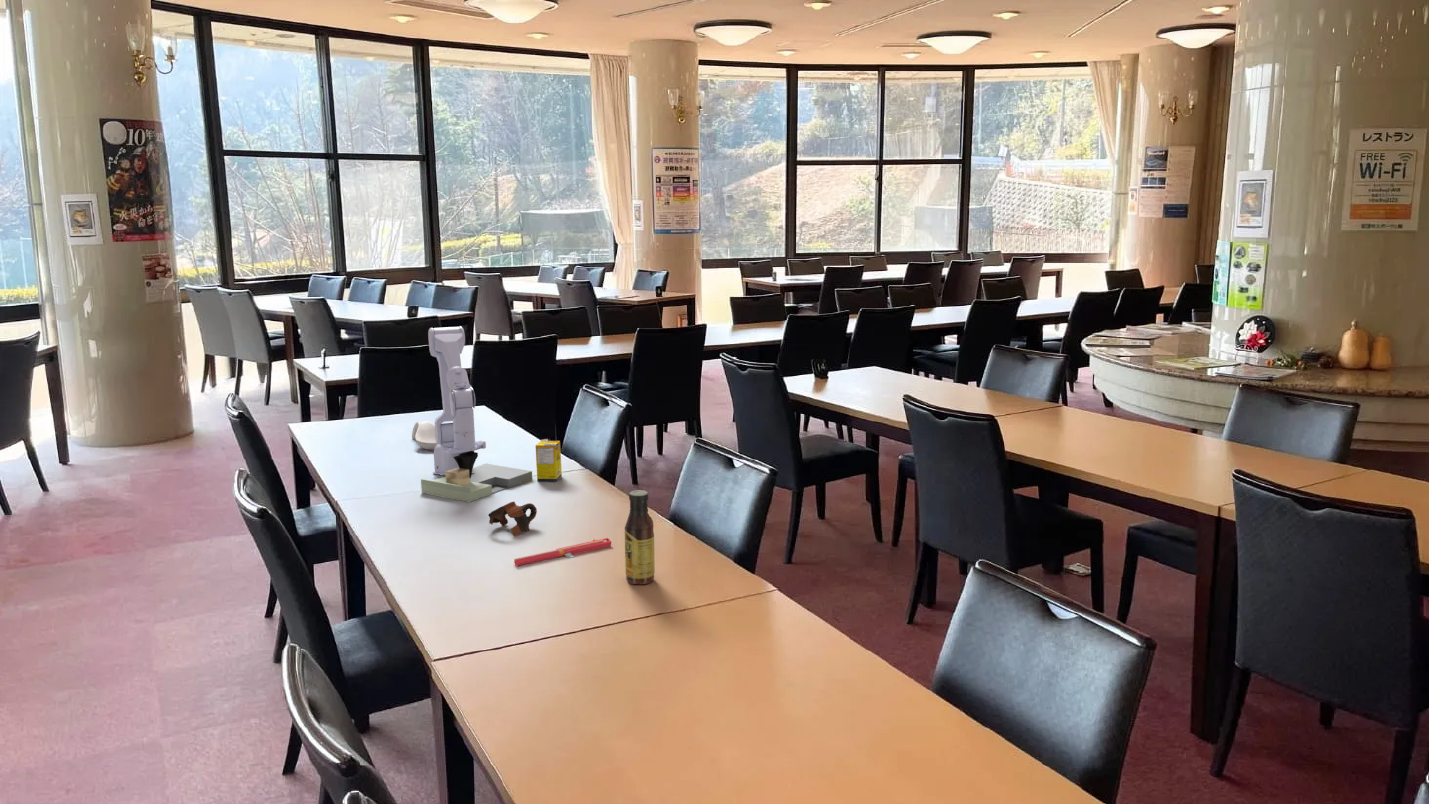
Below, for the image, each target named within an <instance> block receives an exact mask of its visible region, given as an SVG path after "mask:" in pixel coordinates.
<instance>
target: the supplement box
mask: <svg viewBox="0 0 1429 804" xmlns="http://www.w3.org/2000/svg"><path fill="white" fill-rule="evenodd" d="M561 454H562V453H561V441H560V440H541V441H539V442H537V444H536V445H535V460H536V461H535V462H536V477H537V478H536V480H537V482H558V481H559V480H560V478H562V475H563V474H562V455H561Z"/></svg>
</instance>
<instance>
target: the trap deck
mask: <svg viewBox="0 0 1429 804" xmlns="http://www.w3.org/2000/svg"><path fill="white" fill-rule="evenodd" d="M532 480H533V471H532V470H527V469H523V468H522V469H520V468H515V467H510V466H509V467H508V466H503V465H498V464H497V465H496V464H491V463H484V464H481V465H478V466H473V470H472V475H471V478H470V484H467V485H464V486H461V485H456V484H450V483H446V476H444V477H440V478H436V479H434V480H433V479H427V478H421V479H420V486H421V494H425V493H426V495H430V494H431V496H437V497H441V498H446V499H451V500H456V501H462V502H465V503H466V502H467V503H470V502H472V501H476V500H478V499H479V500H480V499H482V498H484V497H487V496H490V495H492V494H495V493H498V492H500V491H504V490H506V489H509V488H512V487H515V486H518V485H520V484H523V482H524V483H527V482H529V481H532Z"/></svg>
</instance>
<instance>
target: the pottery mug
mask: <svg viewBox="0 0 1429 804" xmlns="http://www.w3.org/2000/svg"><path fill="white" fill-rule="evenodd" d="M528 510H530V514H529V515H527V514H526V513H527V511H528ZM537 510H538V509H537V507H536V506H535V504H534V503H525V504H523V505H520V506H519V505H517V504H516V501H511V502H508V503H506V504H505V505H502V506H500V507H497V508H496V509H494V510H492V511H491V512H489V513H488V514H487V516H488V517H489V521H488V524H490V525H494V524H497V523H499V524H500V525H501V526H503V527H504V526H506V525H507V524H509V521H508V519H507V518H506V516H508V517H509V518H511V519H513V520H514V521H515V522H516V524H515V525H514V526H512V527H510V531H511V533H512V535H513V537H517V536H519V535H521V534H523V533H527V532H529V531H530V524H531V522H532V521H533V520H534V519H535V518H536V516H537V513H538V511H537Z"/></svg>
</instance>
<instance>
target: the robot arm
mask: <svg viewBox="0 0 1429 804" xmlns="http://www.w3.org/2000/svg"><path fill="white" fill-rule="evenodd" d="M427 333H428V334H427V335H428V347H429V349H428V350H429V353H430V356H432V357H434V358H436V361H437V362H438V368H439V378H440V379H439V380H440V381H439V382H440V390H441V400H442V401H441V403H442V410H443V411H442V412H441V414H439V415H438V416H437V417H436V418H435V420H434V425H435V438H436V442H437V443H438V445H437V446H436V447H435V449H434V450H433V461H434V462H433V463H434V464H433V465H434V471H433V472H432V474H434V475H441V476H444V477H446V471H449V470H452V469H455V468H461V469H467V470H469V478H471V475H472V470H473V468H474V467H475V463H476V460H477V458H478V456H479V453H478V452H475V451H478V450H481V449H482V450H483V449H486V448H487V444H486V441H484V440H479V441H476V435H475V434H476V433H475V417H474V416H475V415H474V409H475V408H476V394H475V391H474V388H473V387H472V385H471V384H470V381H469V377H468V372H467V370H466V368H463V367H462V361H461V354H462V352H463V351H464V347H465V345H466V334H465V330H464V328H463V327H462V326H461V325H459V326H448V327H447V326H446V327H434V328H433V327H430V328H429V329H428V332H427ZM444 422H445V423H444Z"/></svg>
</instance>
